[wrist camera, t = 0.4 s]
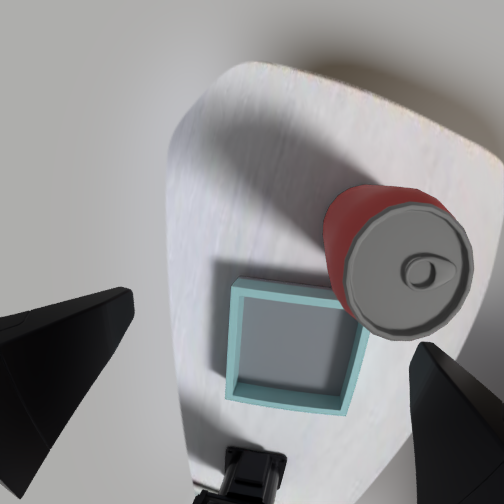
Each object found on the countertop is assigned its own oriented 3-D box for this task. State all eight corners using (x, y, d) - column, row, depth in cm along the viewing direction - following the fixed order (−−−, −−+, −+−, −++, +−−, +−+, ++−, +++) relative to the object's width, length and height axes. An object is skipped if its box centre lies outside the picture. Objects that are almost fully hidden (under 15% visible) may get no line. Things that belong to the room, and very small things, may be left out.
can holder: (344, 397, 26) (345, 416, 23) (232, 382, 27) (224, 399, 25) (370, 292, 23) (376, 304, 21) (239, 275, 25) (231, 286, 23)
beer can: (409, 269, 22) (476, 341, 11) (326, 276, 24) (332, 361, 12) (405, 181, 21) (484, 184, 10) (317, 188, 22) (321, 194, 11)
